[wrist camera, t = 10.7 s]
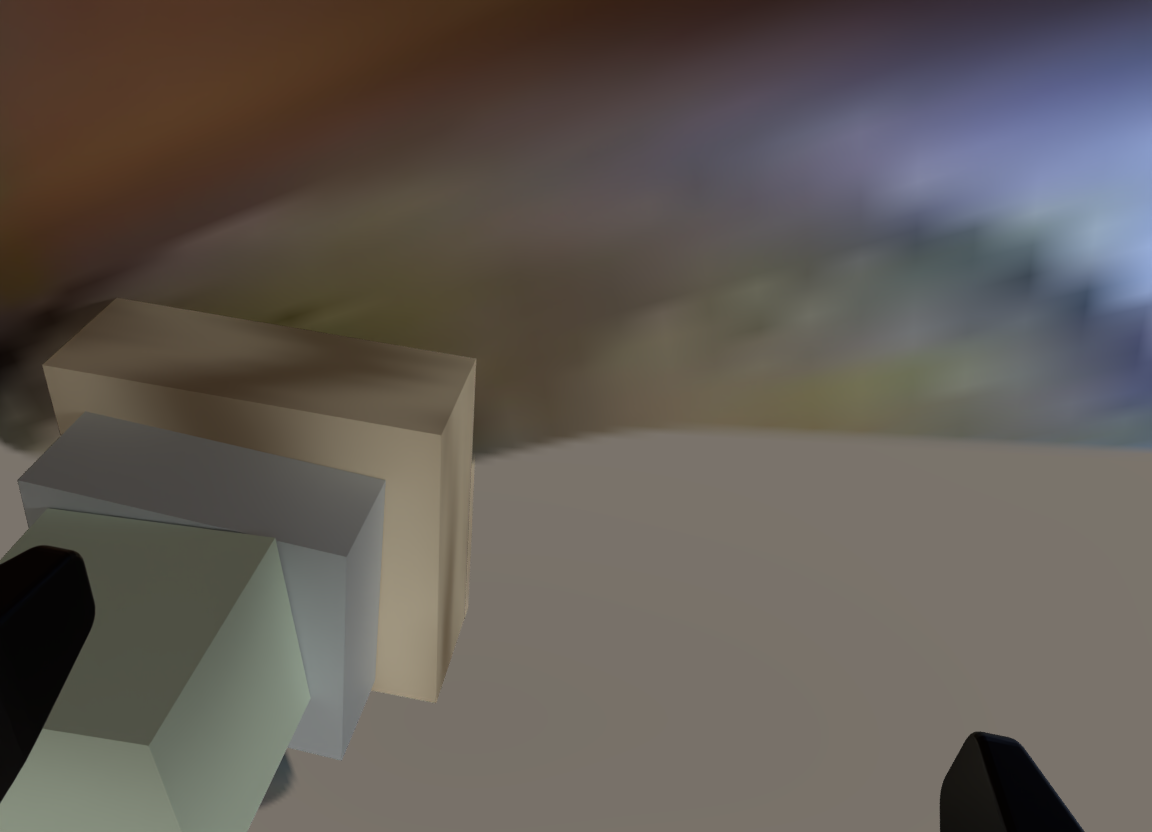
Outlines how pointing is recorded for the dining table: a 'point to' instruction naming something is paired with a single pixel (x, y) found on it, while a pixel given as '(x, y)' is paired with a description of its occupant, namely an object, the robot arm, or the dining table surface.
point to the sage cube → (165, 683)
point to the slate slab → (249, 506)
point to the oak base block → (311, 440)
